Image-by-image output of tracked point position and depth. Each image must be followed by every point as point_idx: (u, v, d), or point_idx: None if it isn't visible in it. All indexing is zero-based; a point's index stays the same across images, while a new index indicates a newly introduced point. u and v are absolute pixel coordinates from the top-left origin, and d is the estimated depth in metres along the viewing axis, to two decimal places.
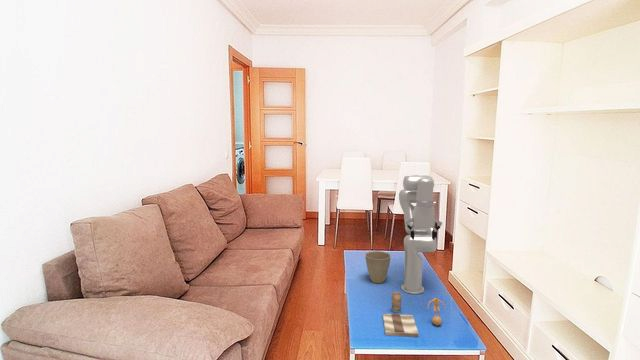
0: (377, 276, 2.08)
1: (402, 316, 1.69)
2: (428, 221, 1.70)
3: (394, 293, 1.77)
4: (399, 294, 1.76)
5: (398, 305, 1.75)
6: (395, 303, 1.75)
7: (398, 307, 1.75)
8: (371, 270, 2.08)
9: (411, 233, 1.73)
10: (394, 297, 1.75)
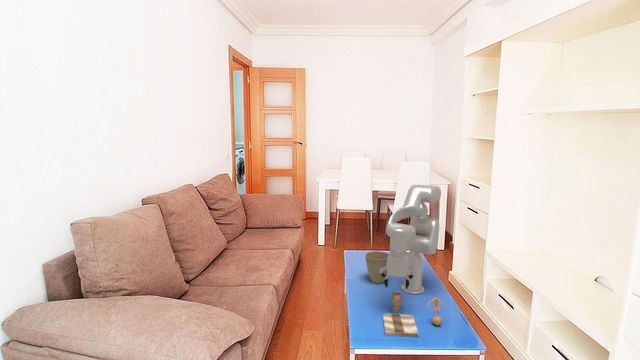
0: (377, 276, 2.08)
1: (402, 316, 1.69)
2: (401, 270, 1.72)
3: (394, 293, 1.77)
4: (399, 294, 1.76)
5: (398, 305, 1.75)
6: (395, 303, 1.75)
7: (398, 307, 1.75)
8: (371, 270, 2.08)
9: (385, 281, 1.75)
10: (394, 297, 1.75)
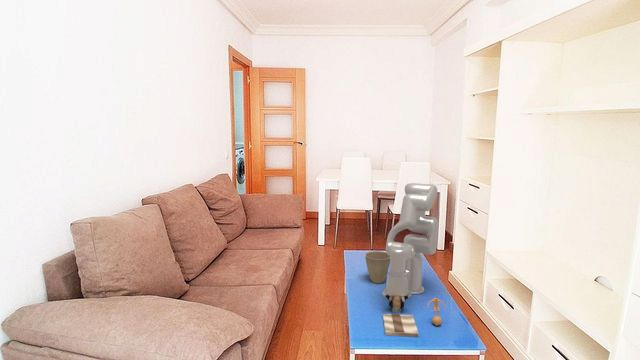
0: (377, 276, 2.08)
1: (402, 316, 1.69)
2: (401, 290, 1.73)
3: None
4: None
5: (398, 305, 1.75)
6: (395, 303, 1.75)
7: (398, 307, 1.75)
8: (371, 270, 2.08)
9: (389, 303, 1.76)
10: (394, 297, 1.75)
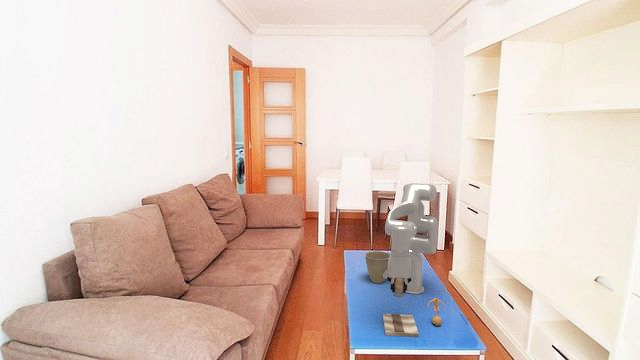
0: (377, 276, 2.08)
1: (402, 316, 1.69)
2: (404, 271, 1.58)
3: None
4: None
5: (401, 288, 1.59)
6: (398, 286, 1.59)
7: (401, 290, 1.59)
8: (371, 270, 2.08)
9: (391, 286, 1.61)
10: (396, 279, 1.59)
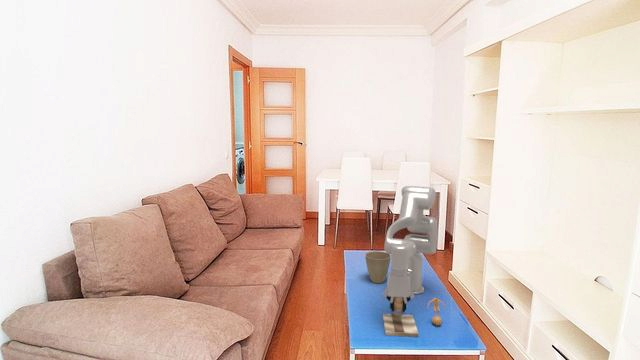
0: (377, 276, 2.08)
1: (402, 316, 1.69)
2: (403, 290, 1.59)
3: None
4: None
5: (400, 307, 1.60)
6: (397, 305, 1.60)
7: (400, 309, 1.60)
8: (371, 270, 2.08)
9: (390, 305, 1.62)
10: (396, 298, 1.60)
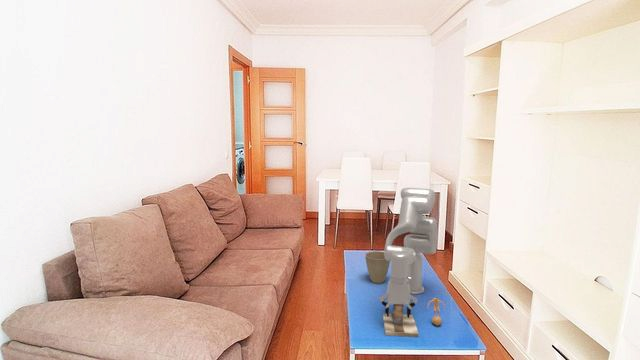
0: (377, 276, 2.08)
1: None
2: (403, 298, 1.59)
3: None
4: None
5: (400, 316, 1.61)
6: (397, 314, 1.61)
7: (400, 318, 1.61)
8: (371, 270, 2.08)
9: (386, 310, 1.62)
10: (395, 307, 1.61)
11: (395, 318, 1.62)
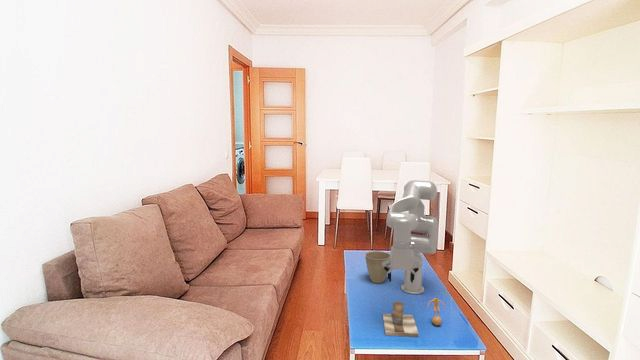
0: (377, 276, 2.08)
1: None
2: (406, 263, 1.59)
3: (395, 303, 1.63)
4: (401, 304, 1.62)
5: (400, 316, 1.61)
6: (397, 314, 1.61)
7: (400, 318, 1.61)
8: (371, 270, 2.08)
9: (388, 275, 1.62)
10: (395, 307, 1.61)
11: (395, 318, 1.62)
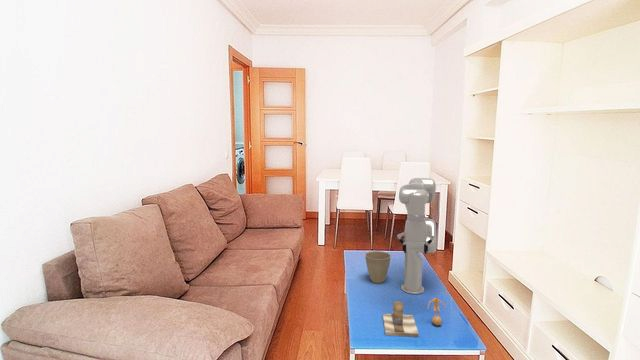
0: (377, 276, 2.08)
1: None
2: (420, 235, 1.69)
3: (395, 303, 1.63)
4: (401, 304, 1.62)
5: (400, 316, 1.61)
6: (397, 314, 1.61)
7: (400, 318, 1.61)
8: (371, 270, 2.08)
9: (403, 247, 1.72)
10: (395, 307, 1.61)
11: (395, 318, 1.62)
